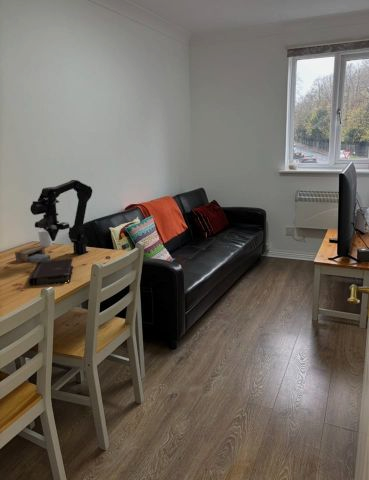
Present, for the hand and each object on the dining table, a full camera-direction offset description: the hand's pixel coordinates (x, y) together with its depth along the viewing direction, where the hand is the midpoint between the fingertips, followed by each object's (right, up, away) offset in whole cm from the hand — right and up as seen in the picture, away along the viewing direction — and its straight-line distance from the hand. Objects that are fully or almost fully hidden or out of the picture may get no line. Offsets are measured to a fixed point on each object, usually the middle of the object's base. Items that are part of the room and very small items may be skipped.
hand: (53, 240), depth 211 cm
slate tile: (-11, -11, +6) cm, 17 cm away
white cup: (-16, -4, +34) cm, 38 cm away
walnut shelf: (-16, -10, +9) cm, 20 cm away
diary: (+7, -17, -20) cm, 28 cm away
